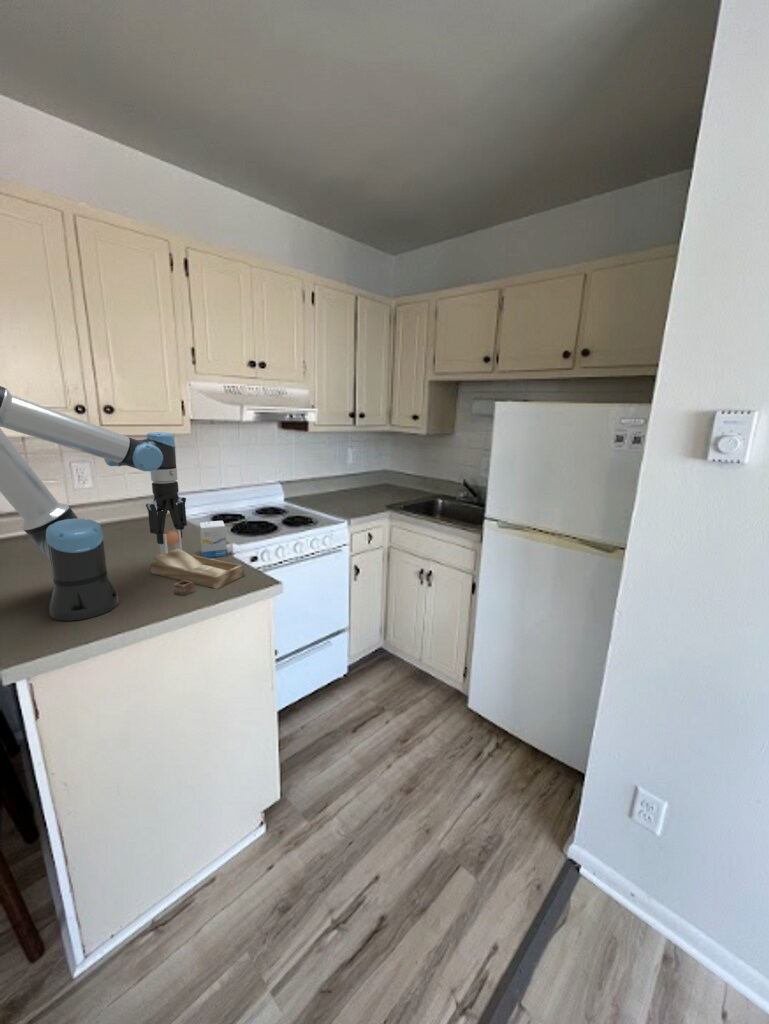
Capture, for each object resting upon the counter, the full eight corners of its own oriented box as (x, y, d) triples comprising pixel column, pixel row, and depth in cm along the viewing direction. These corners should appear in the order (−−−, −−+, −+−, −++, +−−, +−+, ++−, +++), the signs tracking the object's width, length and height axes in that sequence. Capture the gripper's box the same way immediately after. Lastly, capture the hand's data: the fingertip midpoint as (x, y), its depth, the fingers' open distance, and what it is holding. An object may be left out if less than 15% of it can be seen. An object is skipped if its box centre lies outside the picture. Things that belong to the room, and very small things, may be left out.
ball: (159, 545, 140) (157, 531, 139) (171, 541, 145) (170, 527, 144) (170, 548, 138) (168, 533, 137) (182, 543, 143) (181, 529, 142)
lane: (216, 589, 129) (215, 571, 127) (151, 573, 139) (149, 557, 138) (244, 576, 140) (243, 559, 138) (181, 562, 150) (180, 546, 149)
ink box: (227, 555, 158) (225, 525, 155) (202, 558, 154) (200, 527, 151) (224, 549, 165) (222, 519, 162) (200, 551, 161) (198, 521, 159)
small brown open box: (184, 595, 123) (183, 586, 123) (174, 593, 125) (173, 584, 124) (194, 590, 127) (193, 581, 126) (185, 588, 128) (184, 579, 128)
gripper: (148, 486, 127) (155, 560, 133) (195, 478, 143) (200, 544, 149) (130, 484, 130) (138, 556, 135) (179, 476, 146) (184, 541, 151)
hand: (171, 550), depth 142 cm, fingers closed on ball, 5 cm apart
